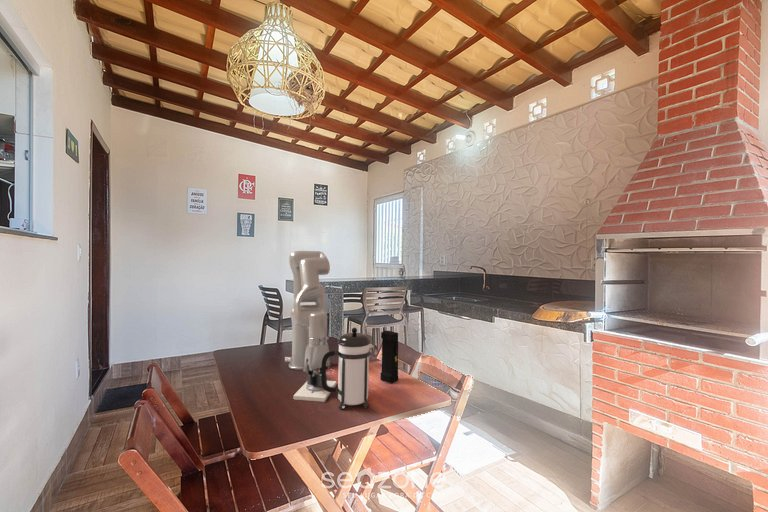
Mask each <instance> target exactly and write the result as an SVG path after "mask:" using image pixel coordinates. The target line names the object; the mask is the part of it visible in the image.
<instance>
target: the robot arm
mask: <svg viewBox="0 0 768 512" xmlns="http://www.w3.org/2000/svg"><path fill="white" fill-rule="evenodd" d="M288 259H289V266H290V269H291V273H292V275H293V299H294V301H293V306H292V308H291V310H290V319H291V328H292V329H291V331H292V334H291V335H292V337H291V338H292V339H291V356H285V357H284V362H286V363H288V362H289V363H288V368H290V369H291V370H297V371H298V370H299V371H301V370H302V371H303V372H304V373H306V374H307V373H308V374H309V375H310V383H311V385H313V386H316V376H315V372H317V370H318V369H319V373H321V369H322V359H323V357H324V355H325V354H326V353H327V352H329V351H330V349H329V348H330V347H329V343H328V340H329V339H330V338H329V336H328V315H327V312H326V303H325V302H326V296H325V295H326V292H325V288H324V286H323V285H322V284H321V283H320V276H327V275H329V274H330V272H331V265H330V262H329V259H328V257H327V256H326V254H325V253H324V252H323V251H320V250H319V251H317V250H295V251H292V252H291V253H290V254H289V258H288ZM301 303H315V304H301ZM331 365H332V363H331V361H330V357H329V358H328V359H327V361H326V371H327V370H328V368H330V367H331Z"/></svg>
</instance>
